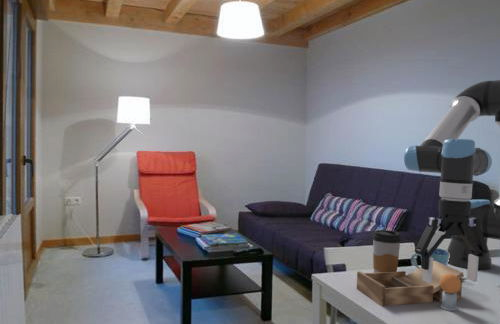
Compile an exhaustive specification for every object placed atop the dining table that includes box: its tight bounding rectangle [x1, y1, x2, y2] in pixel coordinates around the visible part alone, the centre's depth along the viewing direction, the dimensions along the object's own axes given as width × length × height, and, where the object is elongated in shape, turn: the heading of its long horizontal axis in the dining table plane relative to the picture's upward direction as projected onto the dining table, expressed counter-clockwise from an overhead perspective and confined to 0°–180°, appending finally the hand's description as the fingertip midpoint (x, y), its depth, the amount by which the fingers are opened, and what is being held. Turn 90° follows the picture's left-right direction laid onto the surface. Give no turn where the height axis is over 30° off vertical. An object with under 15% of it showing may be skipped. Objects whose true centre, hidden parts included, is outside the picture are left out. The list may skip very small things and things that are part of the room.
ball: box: [440, 274, 461, 294], centre depth 113 cm, size 5×5×5 cm
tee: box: [440, 291, 458, 312], centre depth 113 cm, size 4×4×4 cm
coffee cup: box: [372, 229, 402, 273], centre depth 133 cm, size 8×8×15 cm
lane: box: [356, 260, 465, 307], centre depth 122 cm, size 26×13×8 cm, turn 104°
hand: (449, 281), depth 112 cm, fingers open, 13 cm apart
